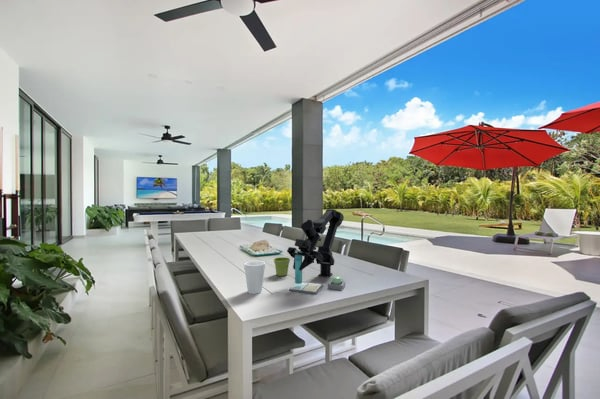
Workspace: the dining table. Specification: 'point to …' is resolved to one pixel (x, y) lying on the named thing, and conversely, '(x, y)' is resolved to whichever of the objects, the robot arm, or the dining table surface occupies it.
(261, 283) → the foam cup
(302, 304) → the dining table surface
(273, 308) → the dining table surface
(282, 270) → the plant pot
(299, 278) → the cylinder
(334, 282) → the button
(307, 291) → the patchwork square coaster
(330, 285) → the button housing
